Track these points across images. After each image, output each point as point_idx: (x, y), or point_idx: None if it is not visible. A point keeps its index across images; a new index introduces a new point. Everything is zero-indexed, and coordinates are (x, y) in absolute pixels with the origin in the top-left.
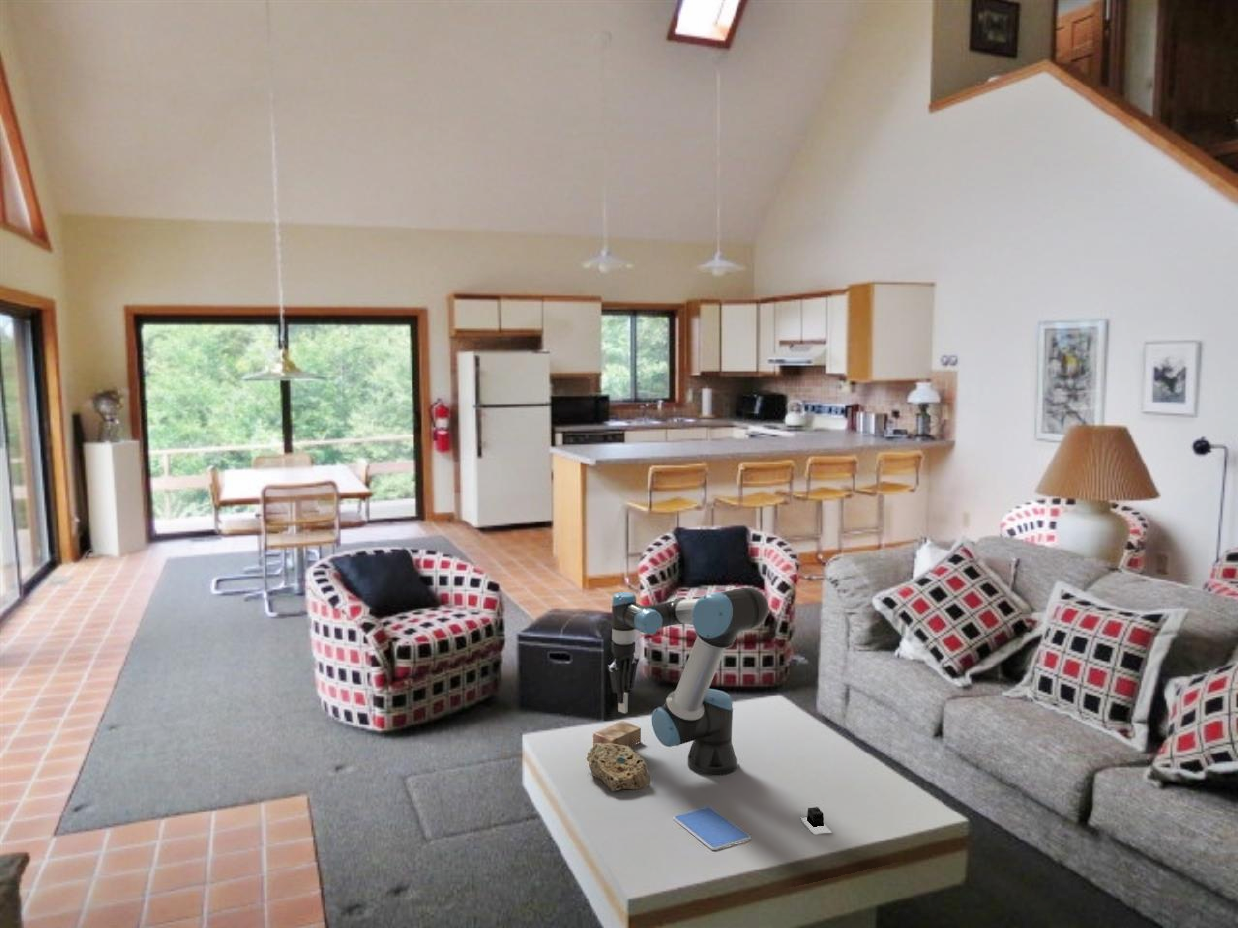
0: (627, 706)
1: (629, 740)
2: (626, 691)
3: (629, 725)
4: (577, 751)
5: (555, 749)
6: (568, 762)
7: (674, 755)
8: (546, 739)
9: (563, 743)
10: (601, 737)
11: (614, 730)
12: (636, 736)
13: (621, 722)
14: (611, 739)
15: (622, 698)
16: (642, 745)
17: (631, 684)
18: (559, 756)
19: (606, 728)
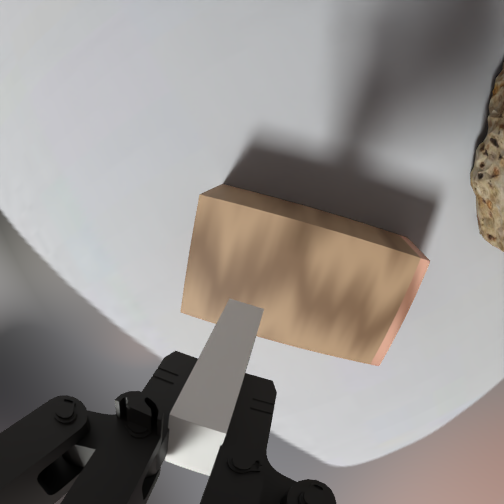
0: (218, 322)
1: (297, 209)
2: (161, 432)
3: (208, 261)
4: (412, 356)
5: (413, 406)
6: (489, 337)
7: (272, 3)
8: (354, 445)
9: (366, 410)
10: (401, 320)
11: (307, 302)
12: (243, 196)
13: (199, 309)
14: (418, 267)
15: (245, 407)
16: (251, 159)
17: (59, 444)
18: (456, 377)
19: (302, 342)
